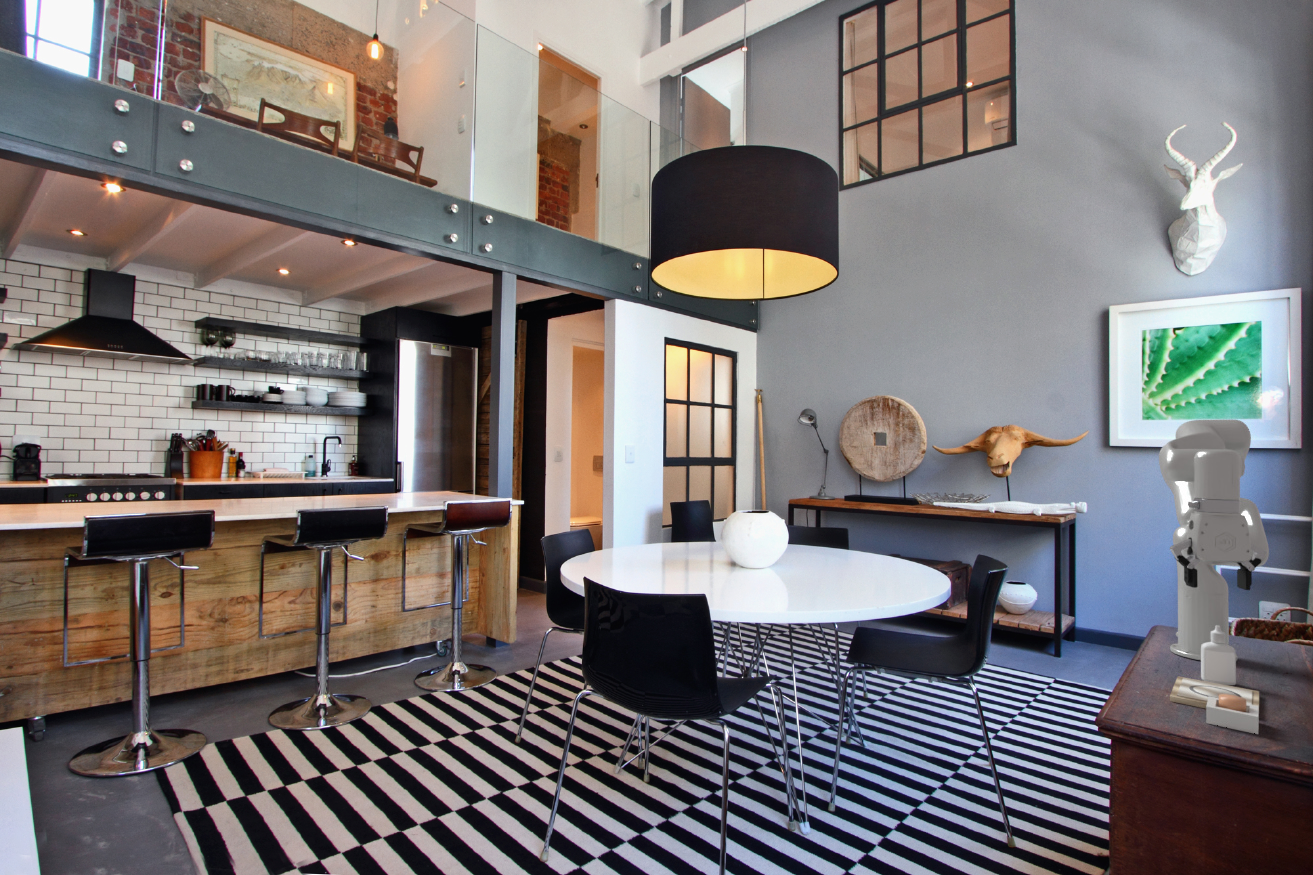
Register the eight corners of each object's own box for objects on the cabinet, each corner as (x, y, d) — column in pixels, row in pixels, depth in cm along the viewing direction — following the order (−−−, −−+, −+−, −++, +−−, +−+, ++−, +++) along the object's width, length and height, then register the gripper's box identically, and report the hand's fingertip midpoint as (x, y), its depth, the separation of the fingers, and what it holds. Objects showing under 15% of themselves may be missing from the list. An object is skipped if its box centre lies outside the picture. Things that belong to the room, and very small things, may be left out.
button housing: (1208, 712, 127) (1208, 696, 127) (1258, 722, 122) (1258, 705, 122) (1206, 723, 121) (1206, 706, 122) (1258, 734, 117) (1258, 716, 117)
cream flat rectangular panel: (1177, 680, 144) (1177, 674, 144) (1259, 696, 135) (1259, 689, 135) (1169, 701, 132) (1169, 694, 132) (1258, 719, 123) (1258, 712, 124)
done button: (1219, 704, 124) (1219, 692, 125) (1246, 710, 122) (1246, 697, 122) (1218, 710, 122) (1218, 697, 122) (1246, 716, 119) (1246, 703, 119)
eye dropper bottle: (1232, 688, 140) (1232, 630, 140) (1198, 680, 144) (1198, 624, 145) (1237, 683, 143) (1237, 627, 143) (1204, 676, 147) (1204, 621, 147)
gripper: (1180, 507, 142) (1180, 589, 142) (1276, 510, 139) (1277, 593, 138) (1161, 505, 150) (1162, 582, 149) (1252, 507, 146) (1253, 586, 146)
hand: (1217, 587), depth 144 cm, fingers open, 9 cm apart
